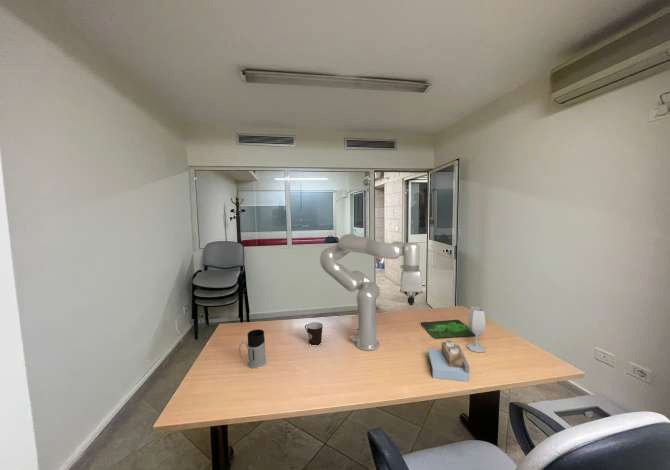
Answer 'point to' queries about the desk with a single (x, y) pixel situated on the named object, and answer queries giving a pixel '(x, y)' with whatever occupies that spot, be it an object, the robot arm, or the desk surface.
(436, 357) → the shelf
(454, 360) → the brown block with knobs
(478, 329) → the wineglass
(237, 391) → the desk surface
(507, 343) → the desk surface
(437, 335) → the mouse mat
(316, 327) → the coffee mug
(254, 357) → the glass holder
